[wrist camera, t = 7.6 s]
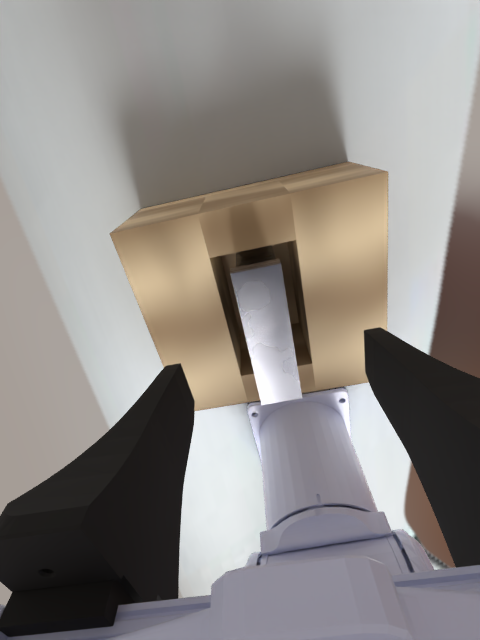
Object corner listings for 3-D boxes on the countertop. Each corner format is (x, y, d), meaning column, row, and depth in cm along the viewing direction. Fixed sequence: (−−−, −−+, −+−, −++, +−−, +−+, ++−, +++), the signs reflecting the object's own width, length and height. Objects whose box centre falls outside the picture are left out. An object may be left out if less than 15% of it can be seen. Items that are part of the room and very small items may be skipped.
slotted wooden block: (356, 329, 24) (386, 379, 19) (192, 358, 25) (182, 413, 20) (348, 161, 18) (388, 171, 13) (141, 209, 19) (109, 233, 15)
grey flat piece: (284, 325, 22) (302, 398, 16) (254, 330, 22) (261, 405, 16) (266, 221, 19) (281, 263, 13) (232, 228, 19) (230, 273, 13)
